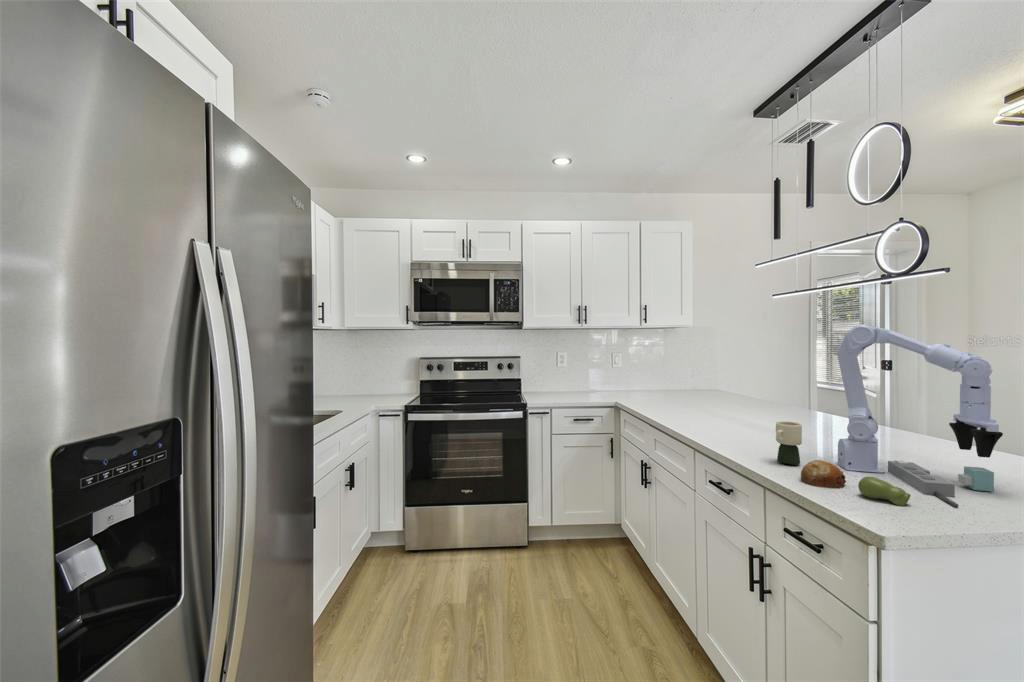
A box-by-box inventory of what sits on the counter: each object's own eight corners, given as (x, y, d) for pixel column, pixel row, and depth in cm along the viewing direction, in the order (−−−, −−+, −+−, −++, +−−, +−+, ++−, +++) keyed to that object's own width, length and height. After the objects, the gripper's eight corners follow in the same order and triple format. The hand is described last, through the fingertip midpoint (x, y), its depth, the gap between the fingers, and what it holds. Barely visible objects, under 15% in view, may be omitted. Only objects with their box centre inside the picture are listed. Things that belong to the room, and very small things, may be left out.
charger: (966, 489, 117) (966, 470, 117) (956, 484, 121) (956, 465, 121) (994, 491, 115) (994, 472, 115) (983, 486, 119) (983, 467, 119)
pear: (863, 471, 116) (914, 487, 108) (859, 490, 117) (909, 507, 109) (858, 476, 112) (910, 492, 105) (854, 495, 113) (905, 513, 105)
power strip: (944, 506, 106) (945, 491, 106) (887, 471, 133) (887, 458, 133) (977, 509, 104) (977, 493, 104) (912, 473, 131) (912, 460, 131)
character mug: (788, 458, 147) (788, 419, 147) (810, 464, 141) (810, 423, 140) (766, 463, 142) (766, 422, 142) (788, 469, 136) (788, 427, 136)
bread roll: (810, 488, 130) (797, 461, 132) (850, 479, 124) (835, 452, 126) (806, 498, 122) (792, 469, 124) (848, 489, 116) (832, 459, 118)
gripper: (1014, 407, 110) (1014, 462, 110) (976, 399, 124) (975, 447, 124) (978, 406, 112) (977, 459, 113) (944, 398, 126) (943, 445, 126)
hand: (974, 453), depth 119 cm, fingers open, 7 cm apart
